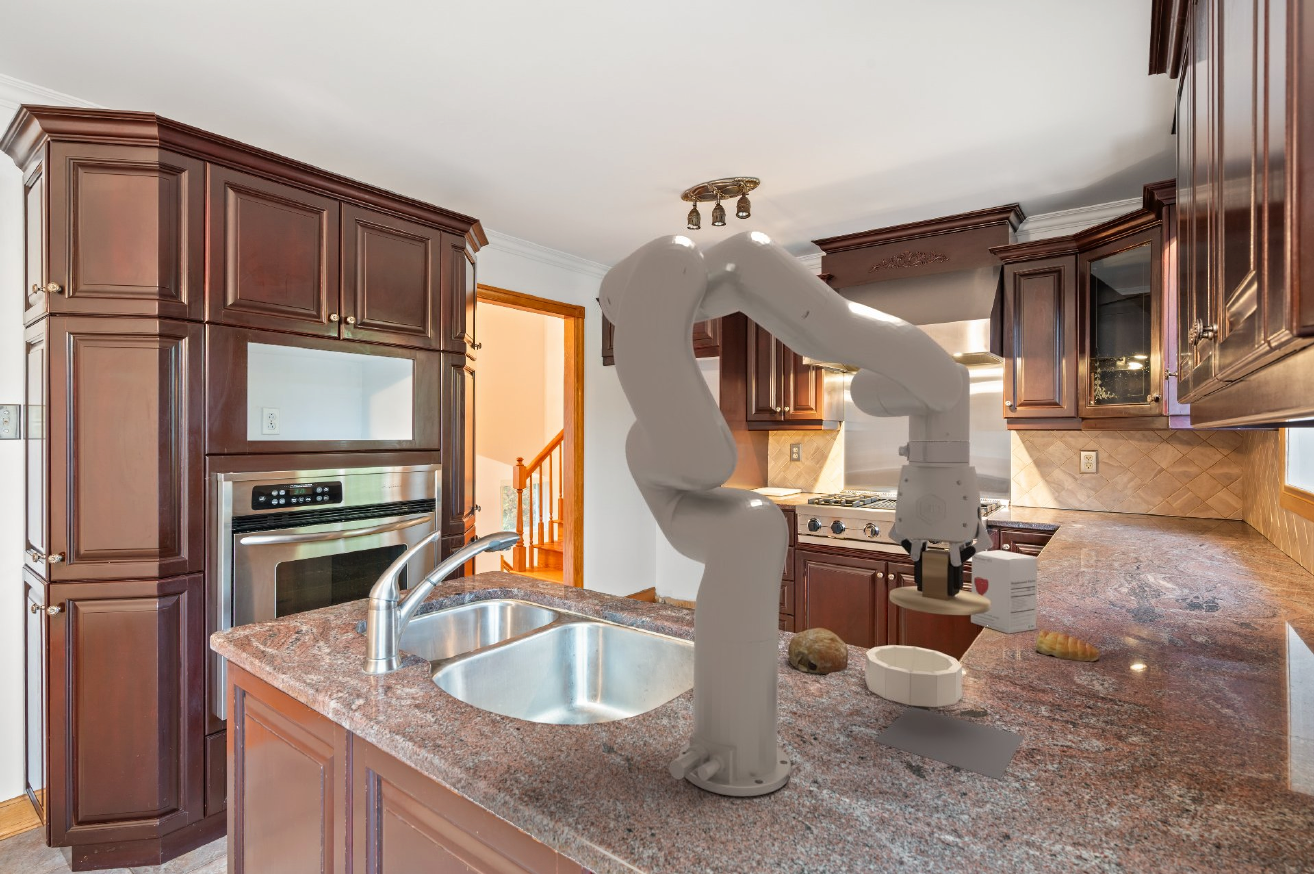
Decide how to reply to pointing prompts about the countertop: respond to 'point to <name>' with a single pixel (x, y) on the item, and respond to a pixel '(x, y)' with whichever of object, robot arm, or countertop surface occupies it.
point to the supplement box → (1006, 590)
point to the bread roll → (818, 652)
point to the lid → (938, 590)
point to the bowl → (914, 675)
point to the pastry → (1065, 647)
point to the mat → (952, 741)
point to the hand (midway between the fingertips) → (938, 590)
